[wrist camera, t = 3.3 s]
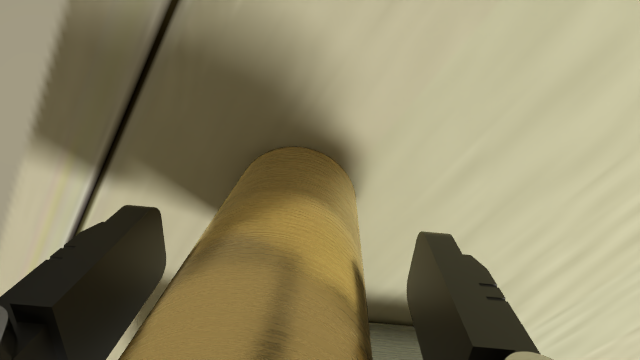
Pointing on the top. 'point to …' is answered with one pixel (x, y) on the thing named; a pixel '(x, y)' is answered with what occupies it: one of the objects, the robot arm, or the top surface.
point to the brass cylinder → (269, 272)
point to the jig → (394, 342)
